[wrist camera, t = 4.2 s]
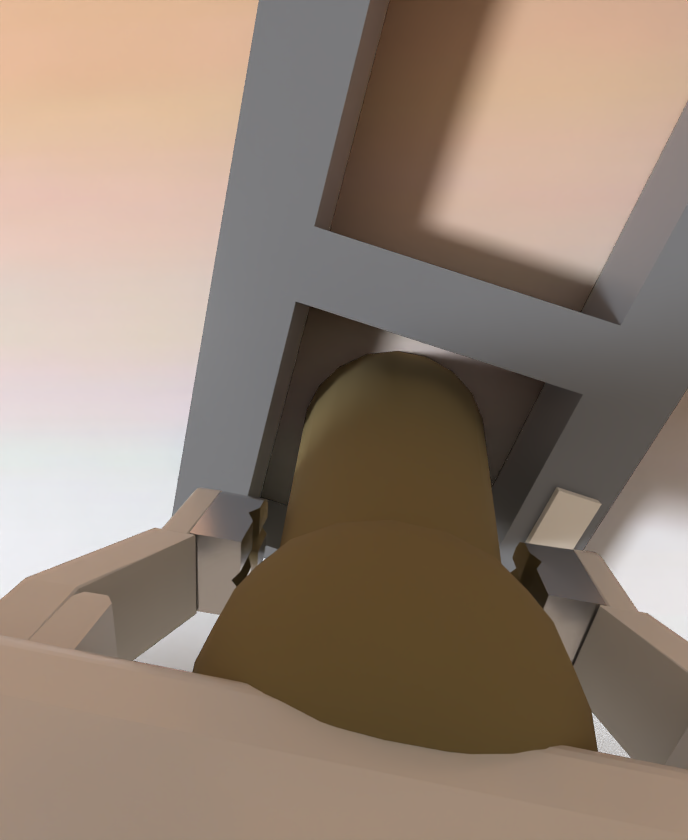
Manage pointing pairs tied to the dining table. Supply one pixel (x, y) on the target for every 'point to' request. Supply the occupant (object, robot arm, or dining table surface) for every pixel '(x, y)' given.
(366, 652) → the cork
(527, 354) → the panel
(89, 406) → the dining table surface
